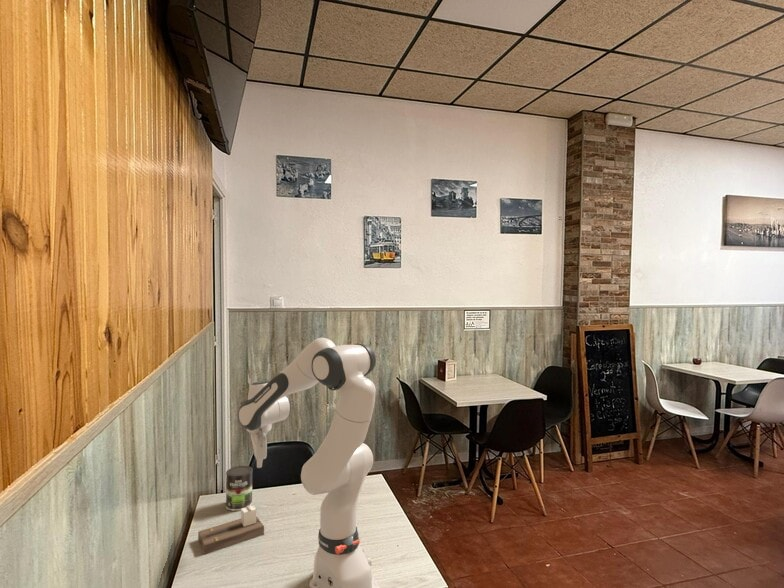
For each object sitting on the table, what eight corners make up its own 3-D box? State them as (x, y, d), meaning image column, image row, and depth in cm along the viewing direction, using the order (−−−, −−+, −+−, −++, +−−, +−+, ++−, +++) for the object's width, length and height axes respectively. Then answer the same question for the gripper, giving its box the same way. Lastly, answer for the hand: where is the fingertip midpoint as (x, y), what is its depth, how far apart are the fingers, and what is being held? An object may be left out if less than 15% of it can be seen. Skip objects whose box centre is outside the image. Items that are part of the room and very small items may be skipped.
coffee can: (251, 509, 167) (252, 474, 167) (224, 512, 164) (224, 477, 164) (253, 497, 177) (253, 464, 177) (227, 500, 174) (227, 466, 174)
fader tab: (256, 522, 151) (256, 508, 151) (243, 526, 148) (244, 511, 148) (253, 518, 154) (253, 504, 154) (241, 522, 151) (241, 507, 151)
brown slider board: (263, 534, 149) (264, 525, 149) (204, 554, 137) (204, 544, 137) (255, 522, 157) (255, 513, 157) (198, 540, 145) (198, 531, 146)
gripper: (271, 433, 144) (270, 472, 144) (265, 415, 163) (263, 449, 163) (252, 435, 141) (251, 475, 142) (248, 416, 160) (246, 451, 161)
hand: (257, 461), depth 153 cm, fingers open, 8 cm apart
